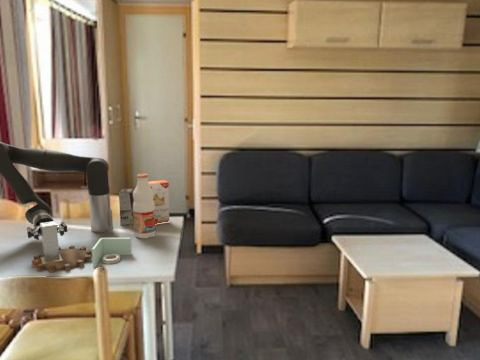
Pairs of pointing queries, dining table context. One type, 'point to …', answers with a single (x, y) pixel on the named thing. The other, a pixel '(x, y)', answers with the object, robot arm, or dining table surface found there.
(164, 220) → the cracker box
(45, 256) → the brushed metal block
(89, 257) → the sprocket plate
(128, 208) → the coffee box
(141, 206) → the fruit juice
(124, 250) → the l-shaped corner panel
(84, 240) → the dining table surface
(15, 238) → the dining table surface
